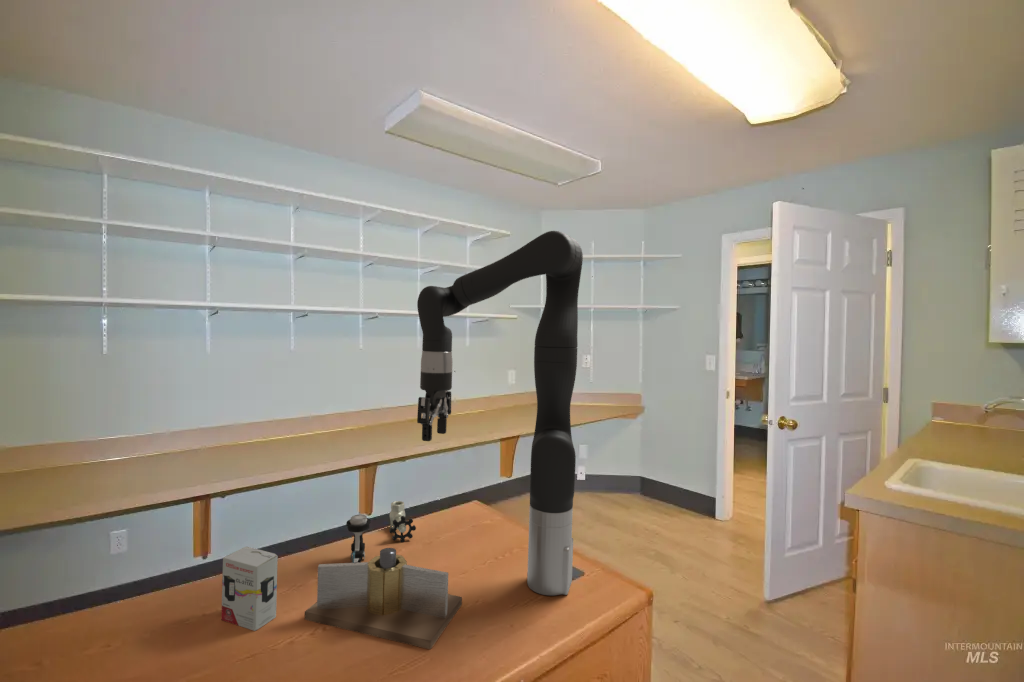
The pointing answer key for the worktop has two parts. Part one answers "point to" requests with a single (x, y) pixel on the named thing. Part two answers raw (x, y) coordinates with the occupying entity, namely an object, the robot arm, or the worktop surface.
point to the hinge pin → (387, 558)
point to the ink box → (249, 588)
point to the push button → (358, 536)
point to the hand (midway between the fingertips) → (434, 436)
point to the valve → (400, 521)
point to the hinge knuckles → (383, 587)
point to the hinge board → (388, 622)
